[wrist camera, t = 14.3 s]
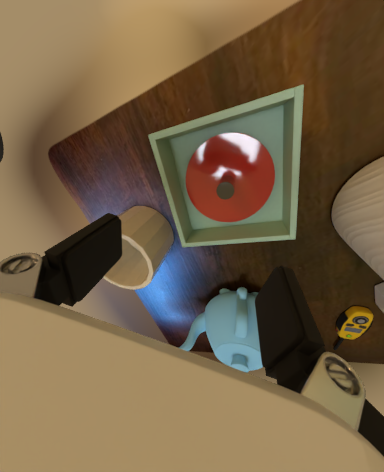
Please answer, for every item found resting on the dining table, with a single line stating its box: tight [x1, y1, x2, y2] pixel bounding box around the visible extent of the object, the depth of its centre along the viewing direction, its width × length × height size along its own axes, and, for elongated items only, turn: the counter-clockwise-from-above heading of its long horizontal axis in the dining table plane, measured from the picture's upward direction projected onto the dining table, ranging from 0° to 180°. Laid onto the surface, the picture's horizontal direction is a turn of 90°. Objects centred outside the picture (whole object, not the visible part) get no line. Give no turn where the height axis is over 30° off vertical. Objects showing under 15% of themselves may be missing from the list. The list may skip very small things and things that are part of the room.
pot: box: [103, 206, 174, 290], centre depth 33 cm, size 13×13×10 cm
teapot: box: [179, 287, 263, 373], centre depth 36 cm, size 16×20×14 cm
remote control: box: [333, 306, 373, 350], centre depth 37 cm, size 5×2×15 cm
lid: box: [186, 132, 275, 222], centre depth 25 cm, size 14×14×6 cm
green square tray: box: [148, 85, 304, 247], centre depth 25 cm, size 18×18×6 cm
